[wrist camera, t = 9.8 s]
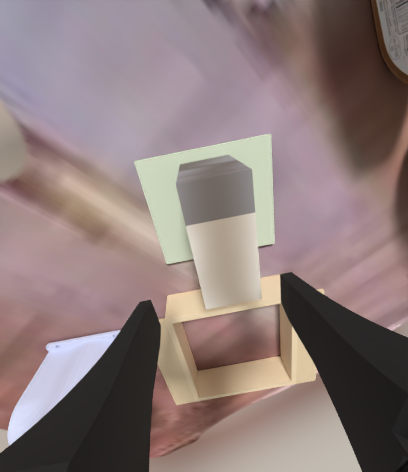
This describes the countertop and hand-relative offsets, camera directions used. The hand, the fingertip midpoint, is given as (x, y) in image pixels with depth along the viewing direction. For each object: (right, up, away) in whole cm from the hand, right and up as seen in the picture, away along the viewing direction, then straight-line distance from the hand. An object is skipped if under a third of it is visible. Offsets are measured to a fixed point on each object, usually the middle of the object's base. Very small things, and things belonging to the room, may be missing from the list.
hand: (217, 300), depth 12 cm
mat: (0, +6, +8) cm, 10 cm away
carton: (+3, -9, +15) cm, 18 cm away
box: (0, +6, +7) cm, 9 cm away
